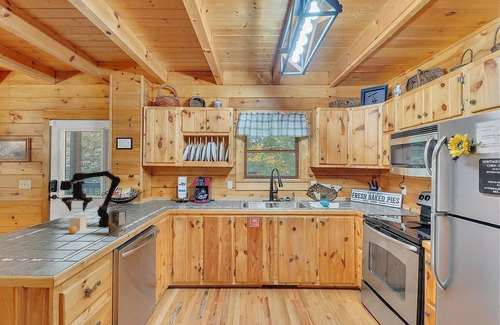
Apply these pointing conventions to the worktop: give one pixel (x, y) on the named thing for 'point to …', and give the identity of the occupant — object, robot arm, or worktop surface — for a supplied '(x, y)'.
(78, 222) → the beige cardboard box
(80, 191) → the robot arm
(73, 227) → the ball
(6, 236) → the worktop surface
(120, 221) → the coffee box
